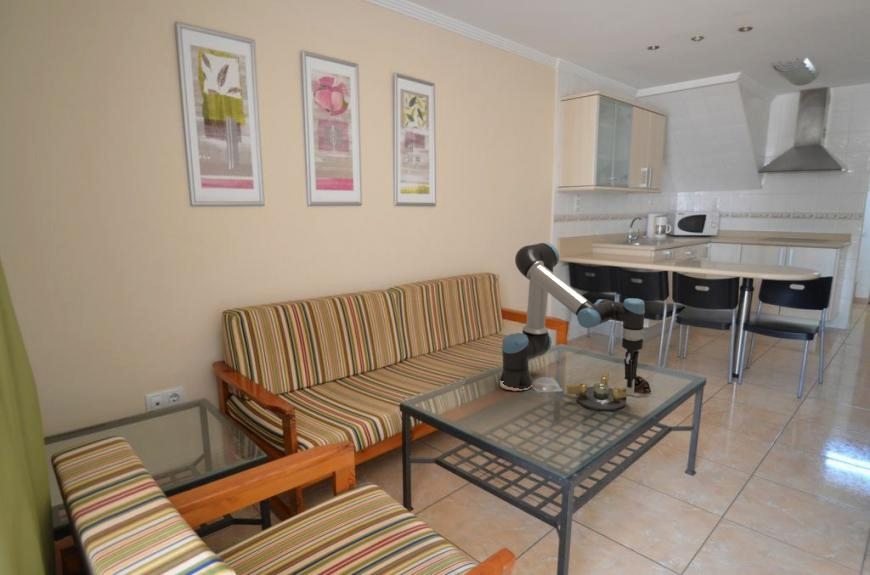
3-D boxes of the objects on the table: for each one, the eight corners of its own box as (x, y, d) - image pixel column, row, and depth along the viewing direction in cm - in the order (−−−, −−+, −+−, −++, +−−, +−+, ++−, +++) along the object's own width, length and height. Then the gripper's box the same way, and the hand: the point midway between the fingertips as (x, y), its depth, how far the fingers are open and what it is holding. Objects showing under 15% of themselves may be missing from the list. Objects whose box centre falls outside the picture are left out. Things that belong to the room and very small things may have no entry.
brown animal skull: (656, 397, 202) (649, 383, 199) (634, 405, 204) (627, 392, 201) (645, 379, 212) (639, 366, 209) (625, 387, 215) (618, 375, 212)
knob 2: (606, 390, 204) (607, 379, 203) (600, 389, 205) (600, 378, 204) (609, 382, 211) (610, 372, 210) (603, 382, 212) (603, 371, 211)
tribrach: (571, 406, 196) (571, 389, 195) (581, 387, 213) (581, 372, 212) (622, 415, 187) (623, 397, 185) (629, 395, 204) (629, 379, 202)
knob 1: (585, 394, 201) (585, 383, 200) (587, 397, 198) (587, 386, 197) (566, 395, 201) (566, 384, 200) (568, 398, 198) (568, 387, 197)
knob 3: (615, 403, 191) (615, 391, 190) (610, 400, 194) (611, 388, 193) (632, 399, 194) (632, 388, 193) (627, 397, 196) (628, 385, 195)
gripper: (638, 344, 179) (635, 402, 184) (646, 335, 189) (643, 390, 194) (617, 341, 183) (615, 397, 188) (627, 332, 194) (624, 386, 199)
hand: (629, 393), depth 191 cm, fingers closed
